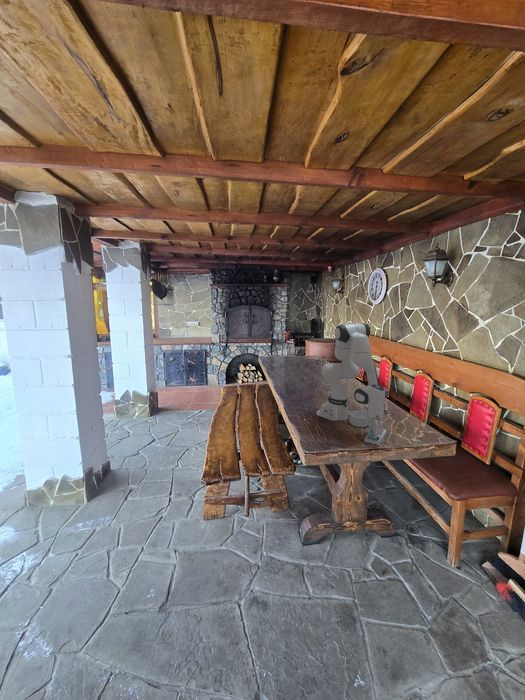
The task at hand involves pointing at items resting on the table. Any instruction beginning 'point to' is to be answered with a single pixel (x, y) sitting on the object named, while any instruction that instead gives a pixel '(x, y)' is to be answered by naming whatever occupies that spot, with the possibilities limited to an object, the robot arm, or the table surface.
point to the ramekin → (358, 418)
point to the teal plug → (372, 435)
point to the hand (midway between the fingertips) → (373, 435)
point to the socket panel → (379, 438)
